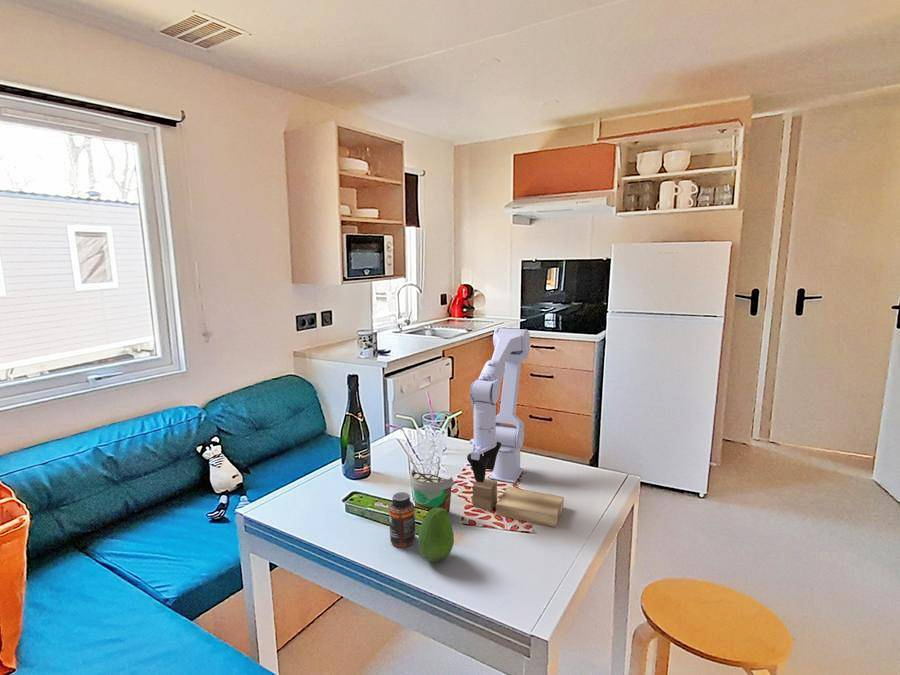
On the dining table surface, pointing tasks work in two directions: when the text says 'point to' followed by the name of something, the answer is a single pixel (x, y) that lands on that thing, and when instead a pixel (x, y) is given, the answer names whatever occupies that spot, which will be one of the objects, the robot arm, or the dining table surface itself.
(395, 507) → the supplement bottle
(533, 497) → the oak block
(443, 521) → the avocado
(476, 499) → the walnut block
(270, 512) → the dining table surface
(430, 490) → the food container
